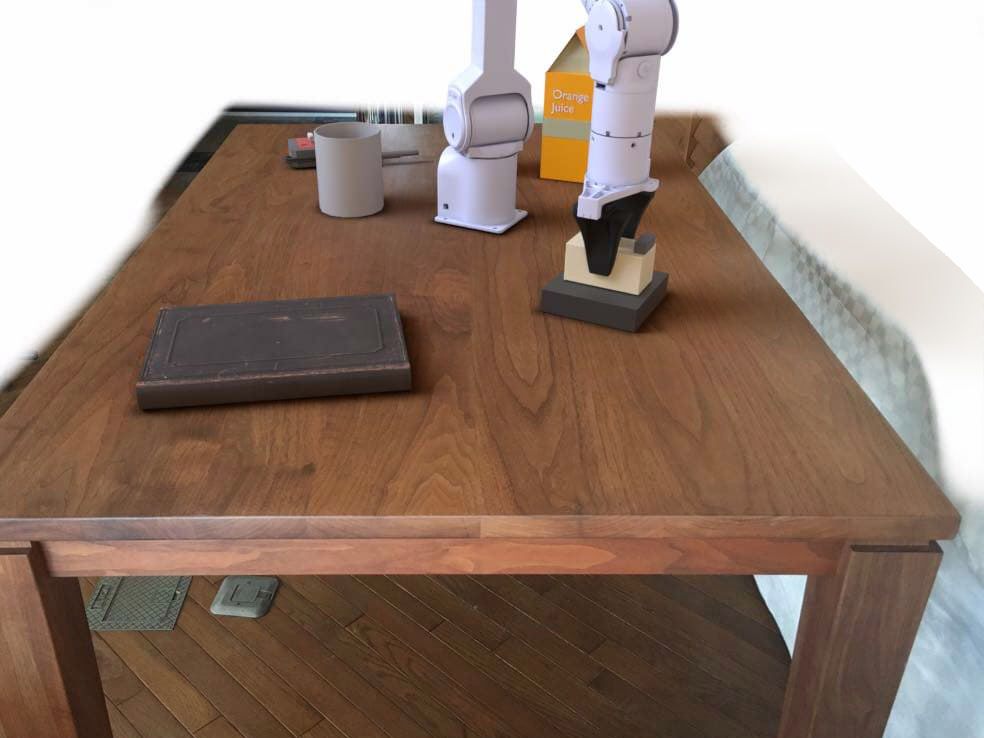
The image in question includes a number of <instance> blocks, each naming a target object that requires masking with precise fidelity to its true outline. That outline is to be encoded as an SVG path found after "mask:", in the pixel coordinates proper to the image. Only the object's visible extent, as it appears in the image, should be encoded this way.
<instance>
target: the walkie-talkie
mask: <svg viewBox="0 0 984 738" xmlns="http://www.w3.org/2000/svg"><path fill="white" fill-rule="evenodd" d="M287 147H288V148H287V149H288V155H285V156H284V157H283V160H284V163H286V164H291V166H292V167H293V168H296V169H305V168H306V169H307V168H317V165H316V152H315V140H314V133H313V132H307V137H297V138H287ZM419 154H420V152H419V150H418V149H406V150H393V151H392V150H391V151H382V160H389V159H390V160H391V159H400V158H401V157H402V158H403V157H411V156H412V157H413V156H414V157H415V156H419Z"/></svg>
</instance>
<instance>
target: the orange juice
mask: <svg viewBox="0 0 984 738" xmlns="http://www.w3.org/2000/svg"><path fill="white" fill-rule="evenodd" d="M589 66H590V55H589V50H588V47H587V44H586V38H585V24H583V25H582V26H580V27H578V28H577V29H575V32H574V33H573V35H572V36H571V38H570V39H569V40H568V41H567V43H566V45H564V47H563V49H561V51H560V52H559V54H558V55H557V57H556V58H555V60H554V61H553V63H551V65H550V66H549V68H548V69H547V70H546V71H545V73H544V75H545V77H544V92H543V94H544V95H543V97H544V98H543V111H542V112H543V114H542V125H541V127H542V128H541V150H540V151H541V152H540V153H541V154H540V171H539V172H540V173H539V178H540V179H547V180H548V179H549V180H557V181H563V182H574V183H580V184H581V183H582V184H584V178H585V174H586V173H587V168H588V155H589V143H590V131H591V118H592V106H593V94H594V79H592V78H591V73H590V72H589Z"/></svg>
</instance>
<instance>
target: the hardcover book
mask: <svg viewBox="0 0 984 738" xmlns="http://www.w3.org/2000/svg"><path fill="white" fill-rule="evenodd" d="M403 330H404V329H403V325H402V320H401V316H400V310H399V306H398V301H397V297H396V293H395V292H392V293H390V292H389V293H374V294H373V293H372V294H358V295H357V294H356V295H340V296H326V297H325V296H323V297H309V298H294V299H293V298H291V299H277V300H276V299H275V300H261V301H260V300H259V301H243V302H226V303H210V304H194V305H192V304H191V305H179V306H178V305H177V306H161V307H160V308H159V311H158V315H157V317H156V320H155V324H154V327H153V330H152V333H151V336H150V338H149V339H150V340H149V342H148V346H147V350H146V352H145V356H144V359H143V362H142V365H141V369H140V372H139V375H138V378H137V381H136V385H135V397H136V402H137V407H138V409H139V410H155V409H169V408H182V407H194V406H195V407H196V406H208V405H210V406H211V405H223V404H238V403H251V402H264V401H276V400H277V401H279V400H291V399H305V398H317V397H318V398H319V397H320V398H321V397H333V396H346V395H359V394H373V393H387V392H398V391H399V392H400V391H411V390H412V371H411V364H410V359H409V355H408V349H407V344H406V340H405V334H404V331H403Z"/></svg>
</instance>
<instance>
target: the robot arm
mask: <svg viewBox="0 0 984 738" xmlns="http://www.w3.org/2000/svg"><path fill="white" fill-rule="evenodd" d="M580 2H581V4H582V6H583V8H584V10H585V13H586V14H587V16H588V17H587V21H585V22H584V25H585V38H586V44H587V47H588V50H589V55H590V66H589V72H590V73H591V78H592V79H594V94H593V106H592V118H591V131H590V143H589V155H588V168H587V173H586V174H585V178H584V183H583V189H582V193H581V194H580V195H578V200H577V201H576V202H574V203H573V204H572V209H571V210H572V211H571V212H572V217H573V219H574V221H575V223H576V224H577V227H578V229H579V232H580V231H581V234H582V237H583V241H584V246H585V251H586V258H587V264H588V269H589V273H592V274H597V275H602V276H606V277H608V276H609V275H610V274H611V272H612V269H613V267H614V263H615V260H616V255H617V251H618V247H619V243H620V240H621V237H622V238H627V239H633V240H635V236H636V234H637V231H638V228H639V225H640V222H641V221H642V218H643V216H644V214H645V212H646V210H647V209H648V206H649V205H650V203H651V202H652V200H653V199H654V197H655V195H656V190H657V189H659V185H660V180H659V179H657V178H652V177H650V169H651V161H652V159H651V158H650V155H651V147H652V138H653V137H652V136H653V130H654V121H655V113H656V104H657V95H658V86H659V78H660V69H661V61H662V57H664V56H665V55H667V54H668V53H669V52H670V51H671V50H672V49H673V47H674V46H675V43H676V42H677V39H678V34H679V29H680V14H679V7H678V4H677V1H676V0H580ZM517 13H518V0H471V29H470V30H471V35H470V64H469V65H468V67H466V68H465V69H464V70H463V71H462V72H461V73H459V74H458V75H457V76H456V77H454V78H453V79H452V80H451V81H450V82H449V83H448V85H447V93H446V95H447V97H446V101H445V107H444V110H443V115H442V122H443V123H442V125H443V132H444V135H445V138H446V141H447V142H448V144H449V145H448V146H446V148H444V150H443V152H442V153H441V154H440V157H439V161H438V165H437V173H436V175H437V177H436V179H437V215H436V216H435V217H434V221H435V222H436V223H442V224H448V225H453V226H457V227H463V228H468V229H473V230H478V231H483V232H487V233H488V232H489V233H493V234H502V233H504V232H506V231H507V230H508V229H510V228H511V227H512V226H514V225H515V224H517V223H518V222H519V221H521V220H523V219H524V218H525V217H527V216H528V211H526V210H522V209H516V203H517V201H516V200H517V197H516V196H517V174H518V172H517V171H518V152H522V151H524V144H525V143H527V141H528V140H529V139H530V137H531V136H532V133H533V130H534V127H535V110H534V105H533V100H532V99H533V98H532V84H531V82H530V81H529V80H528V79H527V78H526V77H525V76H524V75H523V74H521V73H520V72H519V71H518V70H516V68H515V57H516V38H517V37H516V36H517V35H516V34H517V17H518V16H517V15H518V14H517Z"/></svg>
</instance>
